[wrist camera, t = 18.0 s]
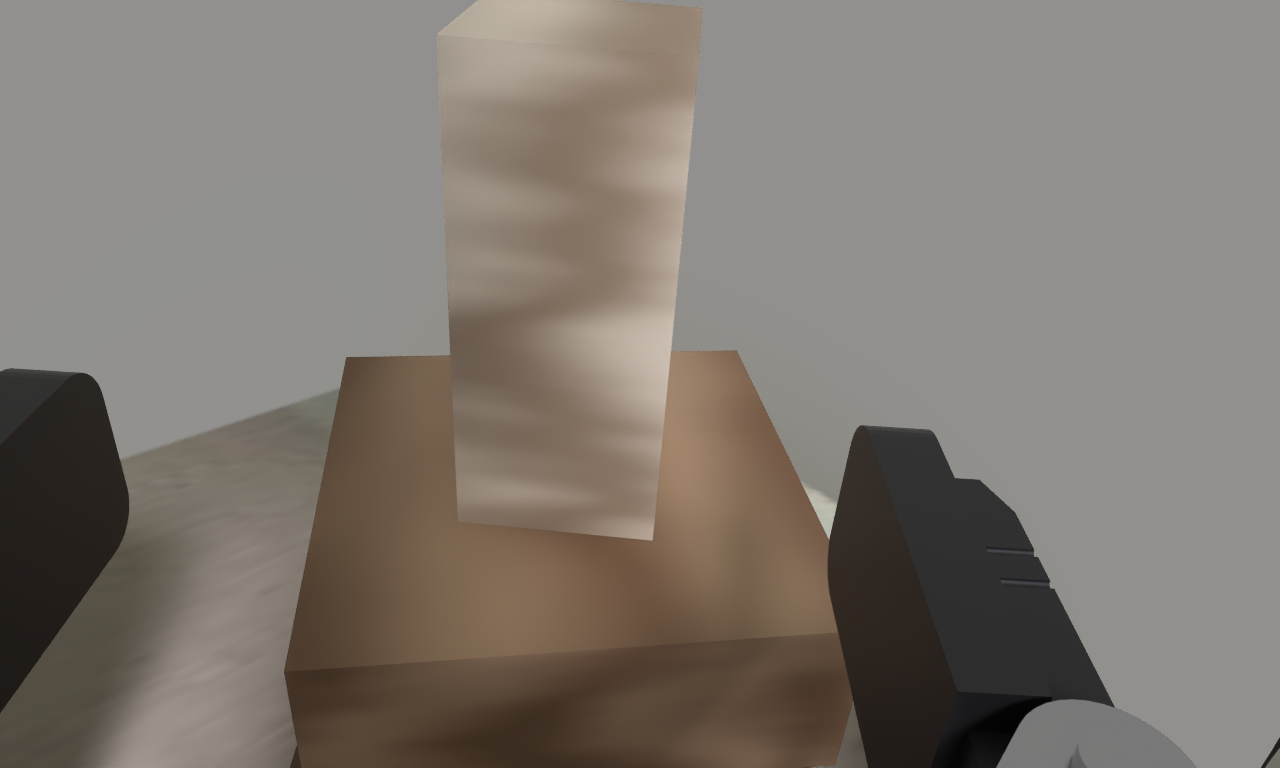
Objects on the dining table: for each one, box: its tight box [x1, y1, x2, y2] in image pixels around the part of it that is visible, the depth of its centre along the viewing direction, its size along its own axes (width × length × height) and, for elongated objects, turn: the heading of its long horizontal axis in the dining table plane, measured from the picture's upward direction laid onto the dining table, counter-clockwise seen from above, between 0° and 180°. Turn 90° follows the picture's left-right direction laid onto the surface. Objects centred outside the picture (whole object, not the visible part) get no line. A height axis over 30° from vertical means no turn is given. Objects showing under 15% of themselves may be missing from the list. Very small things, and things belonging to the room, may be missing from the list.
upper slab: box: [284, 351, 853, 768], centre depth 26 cm, size 12×12×4 cm
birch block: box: [436, 0, 703, 541], centre depth 21 cm, size 5×5×11 cm
